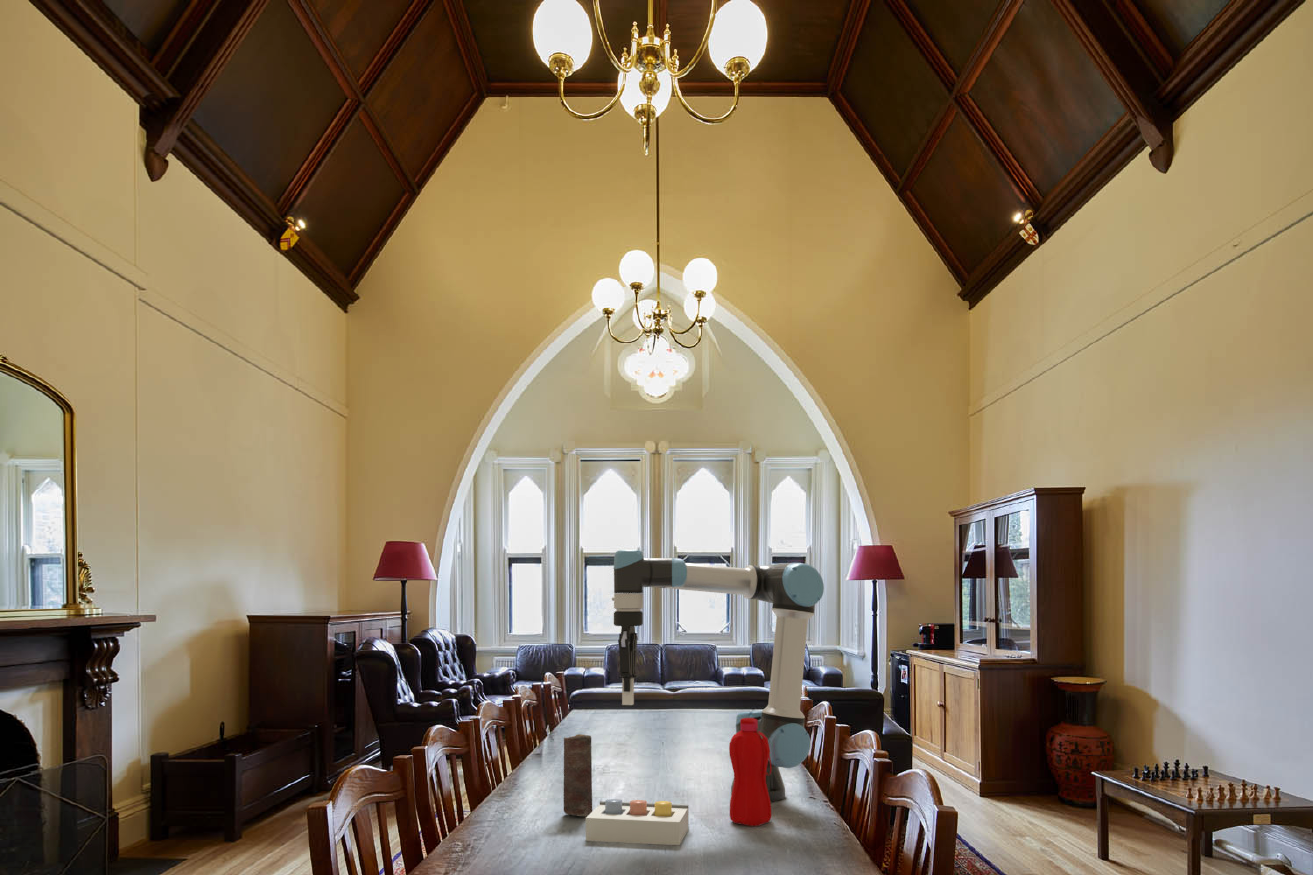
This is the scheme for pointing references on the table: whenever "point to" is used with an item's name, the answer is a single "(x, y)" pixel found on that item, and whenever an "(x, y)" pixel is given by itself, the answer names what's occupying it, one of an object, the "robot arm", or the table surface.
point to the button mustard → (663, 808)
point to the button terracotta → (638, 807)
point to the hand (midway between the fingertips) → (627, 704)
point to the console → (637, 826)
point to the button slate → (613, 806)
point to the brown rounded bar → (578, 775)
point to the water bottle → (750, 775)
